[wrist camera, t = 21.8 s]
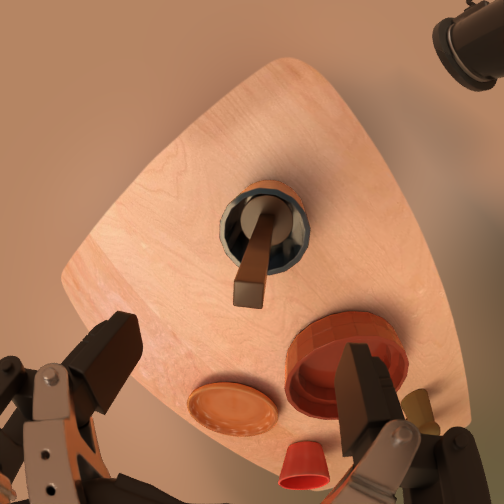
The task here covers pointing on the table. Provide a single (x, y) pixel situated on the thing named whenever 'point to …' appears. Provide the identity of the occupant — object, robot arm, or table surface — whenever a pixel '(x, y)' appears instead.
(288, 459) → the flower pot
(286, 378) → the bowl
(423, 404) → the brown peg figure
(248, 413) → the saucer
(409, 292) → the table surface
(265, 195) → the wooden pestle
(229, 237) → the crock
